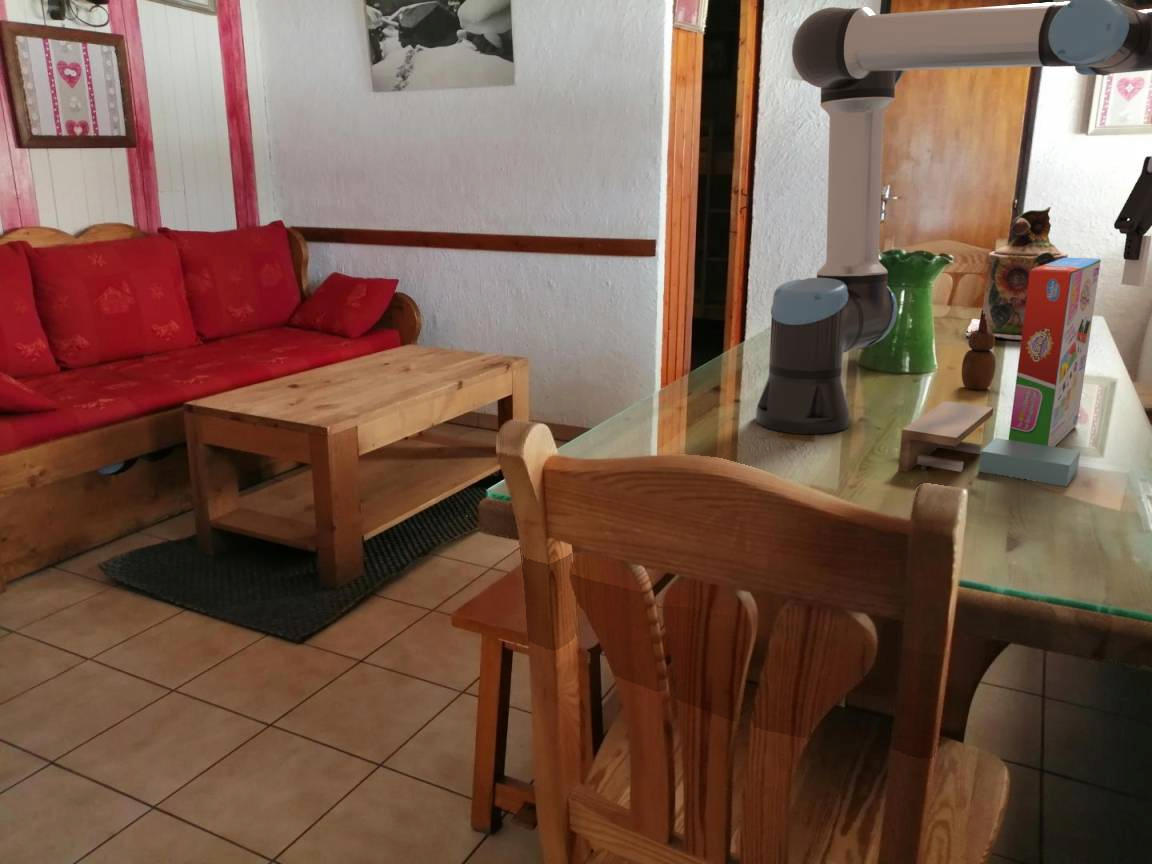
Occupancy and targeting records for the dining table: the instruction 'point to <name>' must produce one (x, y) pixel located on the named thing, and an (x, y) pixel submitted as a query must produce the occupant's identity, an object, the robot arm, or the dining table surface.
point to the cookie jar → (1016, 274)
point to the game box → (1054, 350)
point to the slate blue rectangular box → (1029, 461)
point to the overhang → (941, 435)
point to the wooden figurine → (979, 358)
